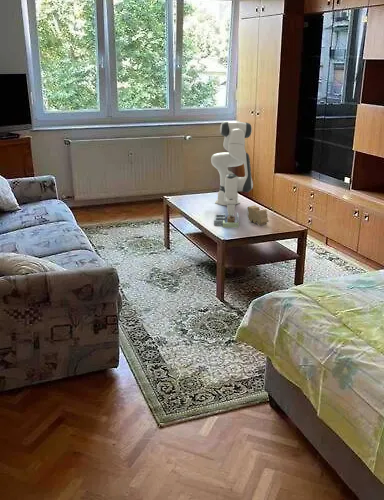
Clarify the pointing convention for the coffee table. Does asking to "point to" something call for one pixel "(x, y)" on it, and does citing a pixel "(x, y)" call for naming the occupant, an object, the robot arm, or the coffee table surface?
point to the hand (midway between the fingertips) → (230, 218)
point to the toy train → (257, 215)
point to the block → (230, 219)
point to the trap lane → (220, 220)
